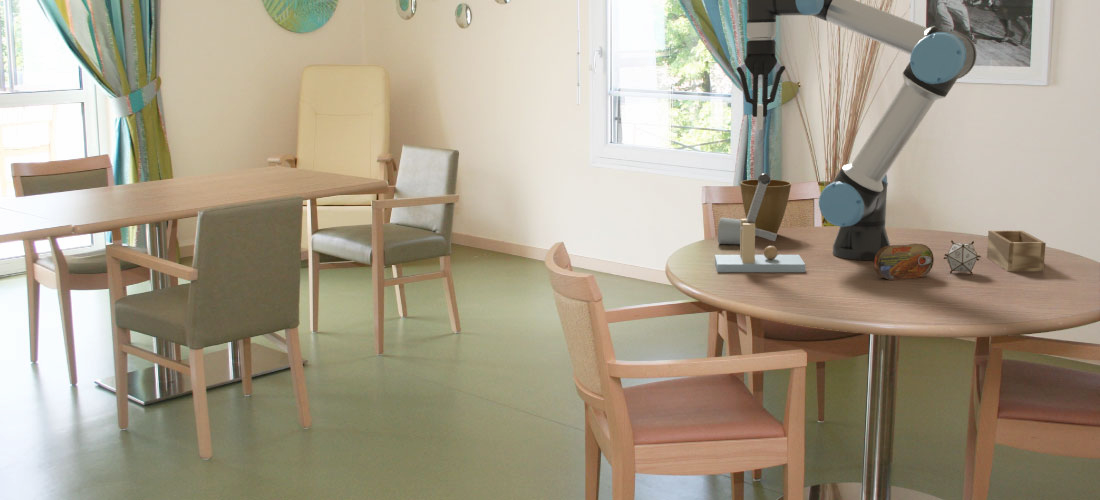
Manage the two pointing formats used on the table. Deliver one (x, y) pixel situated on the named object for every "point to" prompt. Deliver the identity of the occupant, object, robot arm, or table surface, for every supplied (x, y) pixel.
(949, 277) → the table surface
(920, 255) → the tin
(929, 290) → the table surface
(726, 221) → the ceramic mug
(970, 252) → the game die
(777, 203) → the plant pot
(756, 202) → the lever
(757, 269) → the base
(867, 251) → the robot arm
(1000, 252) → the box
